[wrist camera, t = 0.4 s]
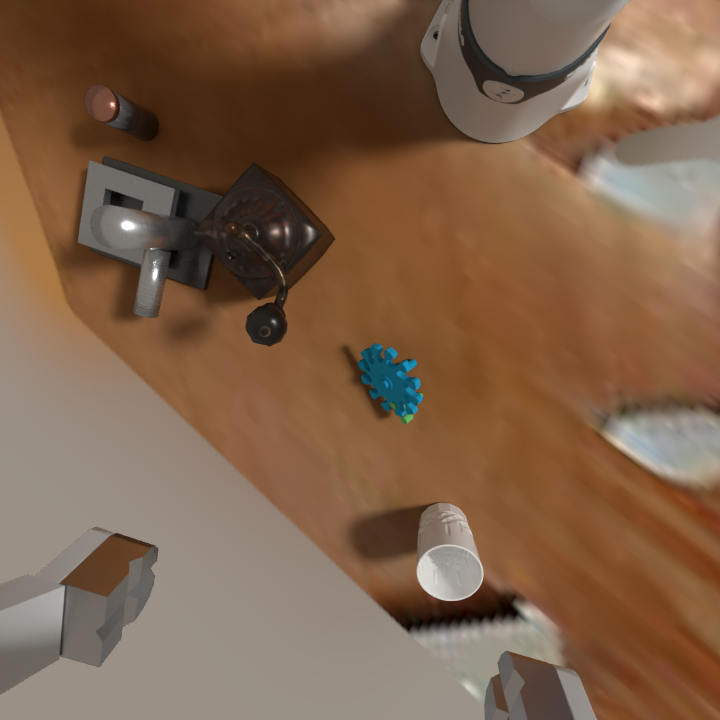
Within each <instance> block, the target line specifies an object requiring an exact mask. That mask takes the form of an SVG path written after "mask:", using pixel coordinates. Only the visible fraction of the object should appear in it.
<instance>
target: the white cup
mask: <svg viewBox="0 0 720 720" xmlns="http://www.w3.org/2000/svg"><path fill="white" fill-rule="evenodd" d="M416 572H417V578H418V581H419V583H420V585H421V586H422V588H423V589H424V590H425V591H426V592H427V593H429V594H430V595H432V596H434V597H436V598H438V599H441V600H447V601H456V600H461V599H464V598H467V597H469V596H471V595H472V594H473V593H475V592H476V591H477V589H478V588H479V587H480V585H481V583H482V580H483V568H482V564H481V561H480V558H479V555H478V551H477V548H476V545H475V541H474V538H473V535H472V533H471V530H470V528H469V526H468V523H467V519H466V516H465V515H464V513H463V512H462V511H461V510H460V509H459V508H458V507H456V506H454V505H452V504H450V503H436V504H434V505H431V506H428V507H427V508H426V510H425V511H424V512H423V513H422V514H421V518H420V521H419V531H418V543H417V570H416Z"/></svg>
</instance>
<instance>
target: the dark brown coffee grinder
mask: <svg viewBox="0 0 720 720" xmlns="http://www.w3.org/2000/svg"><path fill="white" fill-rule="evenodd" d="M193 233H194V234H195V235H196V236H197V237H198V238H199V239H200V241H201V242H202V243H203V244H204V245H205V246H206V247H207V248H208V249H209V250H210V251H211V252H212V254H213V255H214V256H215V257H216V258H217V259H218V260H219V261H220V262H221V263H222V264H223V265H224V266H225V267H226V268H227V269H228V270H229V271H230V272H231V273H232V274H233V275H234V276H235V277H236V278H237V279H238V280H239V282H240V283H241V284H242V285H243V286H244V287H245V288H246V289H247V290H248V291H250V292H251V293H252V294H253V295H254V296H255V297H256V298H257V299H258V300H261V299H265V298H268V297H272V296H275V295H277V297H276V300H275V302H274V303H272V302H271V303H266V304H265V305H263V306H259V307H257V308H256V309H255V310H254V311H253V312H252V313H250V314H249V315H248V316H247V321H246V326H245V327H246V331H247V332H248V334H249V336H250V337H251V339H252V341H253V342H254V343H258V344H263V345H267V346H269V347H270V346H272V345H274V344H276V343H279V342H281V340H282V339H283V337H284V335H285V333H286V331H287V321H286V319H285V317H286V315H285V313H284V310H283V306H284V304H285V301H286V299H287V295H288V290H289V289H290V288H291V287H292V286H293V285H295V284H296V283H297V282H298V281H299V280H300V279H301V278H302V277H303V276H304V275H305V274H306V273H307V272H308V271H309V270H310V269H311V268H312V267H313V266H314V265H315V263H316V262H317V261H318V260H319V259H320V258H321V257H322V256H323V255H324V253H325V252H326V250H327V249H328V248H329V247H330V245H331V244H332V243H333V241H334V240H335V238H334V236H333V235H332V233H331V232H330V231H329V229H328V228H327V227H326V226H325V225H324V224H323V222H322V221H321V220H320V219H319V218H318V217H317V216H316V215H315V214H314V213H313V212H312V211H311V210H310V209H309V208H308V206H307V205H306V204H305V203H304V202H303V201H302V200H301V199H300V198H299V197H298V196H297V195H296V194H295V193H294V192H293V191H291V190H290V189H289V188H288V187H287V186H286V185H285V184H284V183H283V182H282V181H281V180H280V179H279V178H278V177H276V176H275V175H273V174H271V173H270V172H268V171H267V170H265V169H263V168H262V167H260V166H259V165H257V164H256V163H253V164H252V165H251V166H250V167H249V168H248V169H247V170H246V171H245V172H244V173H243V174H242V175H241V177H240V178H239V179H238V180H237V181H236V183H235V184H234V185H233V186H232V187H231V189H230V190H229V191H228V192H227V193H226V194H225V195H224V197H223V198H222V199H221V200H220V201H219V202H218V203H217V205H216V206H215V207H214V208H213V209H212V210H211V212H210V213H209V214H208V215H207V216H206V218H205V219H204V220H203V221H202V222H201V224H200V225H199V226H198V227H197V229H196V230H195V231H194V232H193Z"/></svg>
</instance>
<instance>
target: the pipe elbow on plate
mask: <svg viewBox="0 0 720 720" xmlns="http://www.w3.org/2000/svg"><path fill="white" fill-rule="evenodd" d="M223 197H224V196H221V195H218V194H215V193H212V192H209V191H206V190H203V189H200V188H197V187H194V186H191V185H188V184H185V183H182V182H180V181H177V180H174V179H171V178H168V177H165V176H162V175H159V174H156V173H153V172H150V171H147V170H144V169H141V168H138V167H135V166H132V165H129V164H126V163H123V162H120V161H117V160H114V159H111V158H109V157H106V156H104V162H103V164H100V163H97V162H94V161H90V160H89V165H88V172H87V179H86V186H85V194H84V201H83V208H82V215H81V222H80V229H79V236H78V243H80V244H83V245H86V246H89V247H91V249H90V251H93V252H96V253H99V254H102V255H104V256H107V257H110V258H113V259H116V260H119V261H122V262H125V263H128V264H130V265H133V266H136V267H139V268H141V270H140V275H139V281H138V286H137V292H136V297H135V303H134V308H133V313H135V314H137V315H139V316H143V317H148V318H157V317H158V316H159V311H160V306H161V301H162V296H163V291H164V285H165V280H166V277H168V278H171V279H174V280H177V281H180V282H183V283H185V284H188V285H191V286H194V287H197V288H200V289H203V290H205V289H207V284H208V280H209V275H210V271H211V267H212V262H213V258H214V255H213V254H212V252H211V251H210V250H209V249H208V248H207V247H206V246H205V245H204V244H203V243H202V242H201V241H200V239H199V238H198V237H197V236H196V235H195V234H194V233H193V232H194V231H195V230H196V229H197V227H198V226H199V225H200V224H201V222H202V221H203V220H204V219H205V218H206V216H207V215H208V214H209V213H210V212H211V210H212V209H213V208H214V207H215V206H216V205H217V203H218V202H219V201H220V200H221V199H222V198H223Z"/></svg>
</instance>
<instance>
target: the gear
mask: <svg viewBox="0 0 720 720" xmlns="http://www.w3.org/2000/svg"><path fill="white" fill-rule="evenodd" d="M382 351H383V347H382V346H381V345H379V344H376V343H375V344H374V345H372V346H371V347H370V348H367V349H365V350H364V351H362V352H361V355H362V357H363V359H362V360H360V361H359V363H358V367H359V368H360V369H362V370H364V371H365V372H366V373H365V374H363V375H362V376H361V379H362V382H363V383H364V384H370V385H372V386H373V387H375V388H373V389H372V390H370V391H369V393H370V395H371V397H372V398H373V399H376V398H377V397H379V396H383V397H385V399H386V400H385V401H384V402H383V403H381V406H382V407H383V408H384V409H385V410H386V411H389V410H390V409H391V408H393V409H395V410H394V412H395V414H396V415H398V416H400V417H401V421H402V423H403V424H407V423H408V422H409V421H410V420H412V419H413V414H414V413H415V412H416V411H418V409H417V407H416V406H417V405H418V404H419V403H420V402H421V401H422V399H423V394H422V393H420V392H419V393H416V392H415V391H414V390H417V389H418V388H419V387H420V380H419V379H418V378H417V377H408V376H407V375H405V374H406V373H407V372H408V371H410V370H411V369H412V368H414V367H415V366H416V365H417V362H416V361H415V360H414V359H411V360H410V361H407V360H404V361H402V362H401V363H400V364H394V363H393V362H392V361H391V360H392V359H394V358H395V357H396V356H397V352H396V351H395V350H394V349H393V348H391V347H390V348H388V349H387V350H385V352H384V354H385V358H384V359H383V358H382V357H381V352H382ZM373 356H374V359H373Z"/></svg>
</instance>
